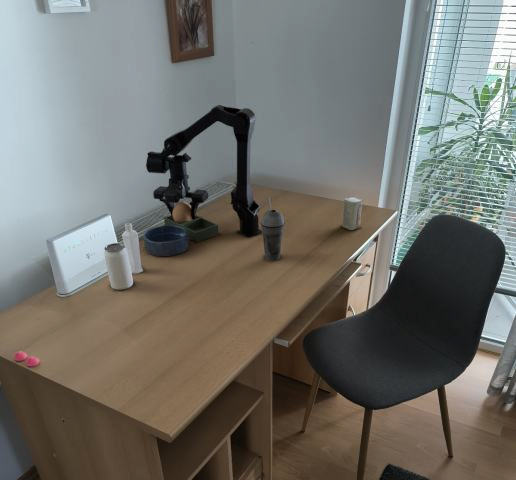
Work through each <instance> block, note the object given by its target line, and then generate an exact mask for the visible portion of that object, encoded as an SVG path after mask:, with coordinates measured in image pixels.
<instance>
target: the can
mask: <svg viewBox="0 0 516 480" xmlns="http://www.w3.org/2000/svg"><path fill="white" fill-rule="evenodd" d="M103 256H104V260H105V266H106V270H107V275H108V279H109V283H110V287H111V288H112V289H114V290H117V291H124V290H127V289H130V288H131V287H132V286H133V284H134V280H133V273H132V272H131V267H130V262H129V257H128V252H127V249H126V248H125V245H124V243H121V242H115V243H110V244H109V243H108V244H106V245H105V246H104V253H103Z"/></svg>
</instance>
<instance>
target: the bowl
mask: <svg viewBox="0 0 516 480" xmlns="http://www.w3.org/2000/svg"><path fill="white" fill-rule="evenodd" d="M142 237H143V243H144V244H143V245H144V249H145V251H146V253H148V254H149V255H152V256H155V257H156V256H157V257H171V256H175V255H179V254H182V253H184V252H185V251H187V250H188V248H189V238H188V235H187V231H186V229H184V228H182V227H179V226H173V225H165V224H164V225H159V226H155V227H152V228H150V229H147V230H146V231H145V232H144V233H143V236H142Z"/></svg>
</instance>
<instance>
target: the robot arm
mask: <svg viewBox="0 0 516 480" xmlns="http://www.w3.org/2000/svg"><path fill="white" fill-rule="evenodd" d="M217 122H219V123H221V124H224V125H225V126H227V127H231V128H232V130H233V131H232V132H233V135H234V137H235V140H236V186H235V187H234V188H233V189H232V190H231V191H230V199H231V201H230V205H231V206H232V210H233V211H234V212H235V213H236V214H237V217H238V219H239V229H238V230H236V232H237V234H240V235H241V236H245V237H247V238H251V237H253V236H256V235H258V234H261V233H263V231H262V229H259V226H260V225H259V224H260V223H259V216H258V213H259V211H260V209H261V206H260V205H259V203H258V202H257V201H255V200H254V195H253V194H254V193H253V190H252V187H251V141H252V138H253V137H252V136H253V133H254V129H255V124H256V115H255V112H254V111H253V110H251V108H248V107H245V108H238V107H232V106H231V107H230V106H224V105H221V104H217V105H215V106H213V107H212V108H211V109H210V110H209V111H208V112H207V113H205V114H204V115H202V116H201V117H200V118H198V120H196V121H194V123H192V124H191V125H189V126H188V127H187V128H185V129H181V130H180V131H177V132H175V133H173V134H171V135H170V136H169V137H166V139H164V141H163V149H162V151H160V152H157V151H148V152H147V157H146V161H145V162H146V164H145V167H146V171H147V172H148V173H149V174H167V173H168V171H169V178H168V185H167V186H163V185H162V186H160V185H159V186H158V187H157V188H156V189H154V190H153V193H152V194H153V195H152V197H153V199H154V200H159V202H162V203H163V204H164V205H165V206H166V208H167V209H168V211H169V213H170V216H171V215H172V217H173V209H174V207H175V204H177V203H179V202H180V200H184V199H185V198H186V199H191V201H190V202H189V203H188V204H189V205H190V207H191V216H192V219H194V218H195V215H197V211H198V207H199V205H200V204H204V202H206V201H207V200H208V199H209V192H208V190H206V189H196V190H195V191H191V192H190V190H191V187H190V186H189V181H188V179H189V178H190V175H189V174H188V172H187V163H189V162H190V161H191V160H192V157H191V156H190V155H188V153H187V152H184V153H183V154H180V153H181V152H183V151H184V150H185V149H186V148H187V147H188V146H189V145H190V144H191V143H192V141H193V140H194V139H195V138H197V136H199V135H200V134H201V133H203V132H204V131H206V130H207V129H208V128H210V127H211V126H212V125H214V124H215V123H217Z"/></svg>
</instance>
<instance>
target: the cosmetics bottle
mask: <svg viewBox="0 0 516 480" xmlns="http://www.w3.org/2000/svg"><path fill="white" fill-rule="evenodd" d="M362 208H363V199H360V198H358V197H355V196H350V197H346V198H343V207H342V222H341V227H343V228H345V229H347V230H349V231H353V230H357V229H360V228H361V221H362V220H361V219H362V210H363V209H362Z"/></svg>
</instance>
